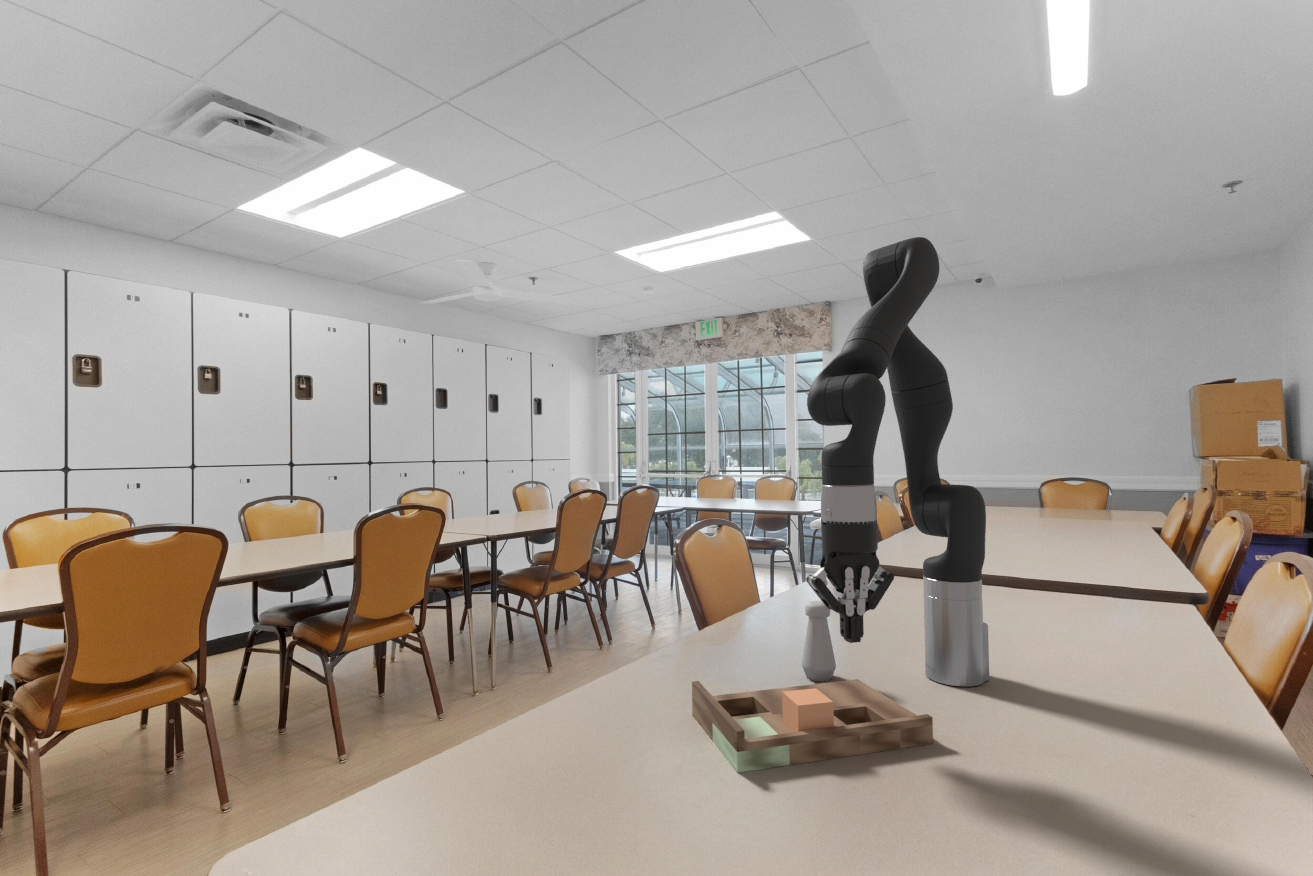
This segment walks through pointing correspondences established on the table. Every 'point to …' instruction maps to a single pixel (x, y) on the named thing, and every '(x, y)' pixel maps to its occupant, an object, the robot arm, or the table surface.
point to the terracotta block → (807, 710)
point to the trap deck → (765, 741)
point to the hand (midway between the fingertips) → (851, 641)
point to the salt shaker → (818, 644)
